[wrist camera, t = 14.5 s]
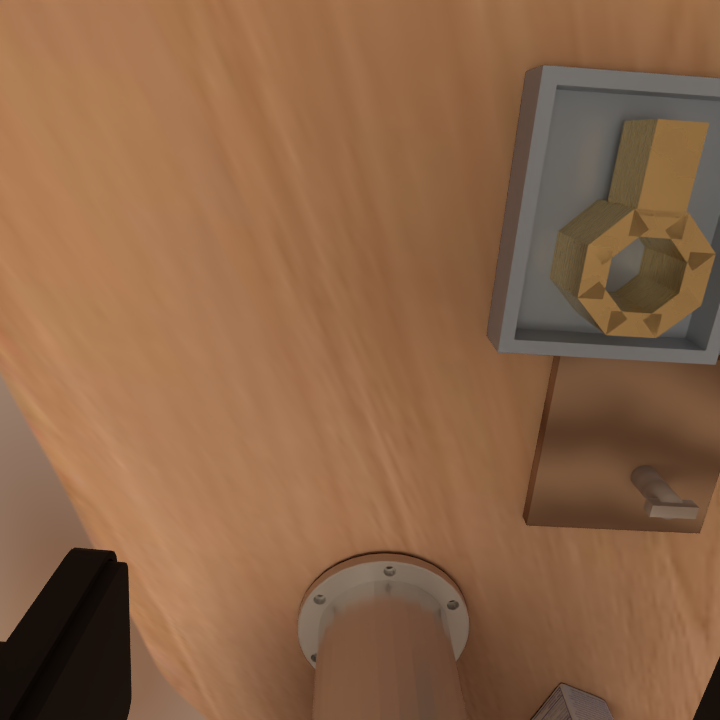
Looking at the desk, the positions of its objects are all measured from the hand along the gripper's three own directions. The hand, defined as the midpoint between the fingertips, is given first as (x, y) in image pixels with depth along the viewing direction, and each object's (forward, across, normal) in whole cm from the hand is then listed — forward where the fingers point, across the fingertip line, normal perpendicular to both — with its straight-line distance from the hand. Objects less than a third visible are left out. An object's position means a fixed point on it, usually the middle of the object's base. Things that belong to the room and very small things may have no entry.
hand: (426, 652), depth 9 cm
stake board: (+27, -18, +9) cm, 34 cm away
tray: (+27, -13, -5) cm, 31 cm away
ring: (+26, -13, -5) cm, 30 cm away
